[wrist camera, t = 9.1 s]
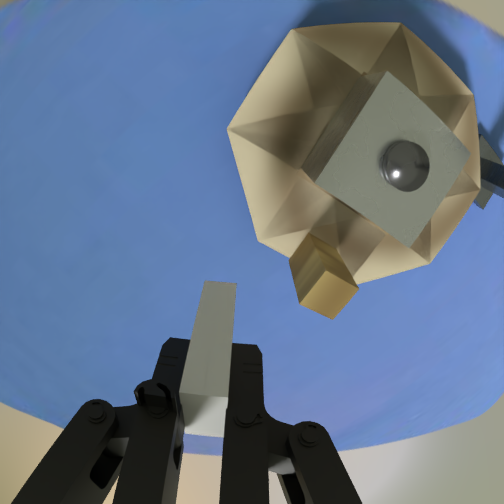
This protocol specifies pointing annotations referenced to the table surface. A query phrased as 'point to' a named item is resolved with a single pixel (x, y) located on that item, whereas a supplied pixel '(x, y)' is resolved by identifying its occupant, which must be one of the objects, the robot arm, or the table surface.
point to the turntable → (307, 135)
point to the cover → (387, 156)
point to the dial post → (489, 174)
